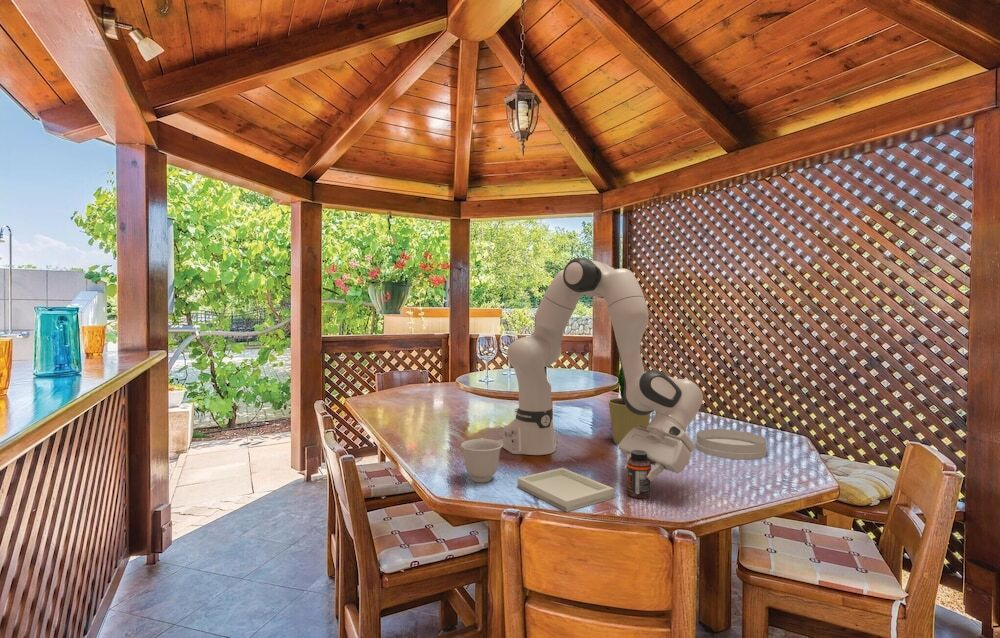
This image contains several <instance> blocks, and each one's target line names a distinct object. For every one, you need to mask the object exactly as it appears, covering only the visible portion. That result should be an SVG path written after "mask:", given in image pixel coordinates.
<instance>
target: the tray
mask: <svg viewBox="0 0 1000 638" xmlns="http://www.w3.org/2000/svg"><path fill="white" fill-rule="evenodd" d="M517 488H518V489H520V490H523V491H524V492H526V493H529V494H530V495H532V496H534V497H536V498H539V499H540V500H542V501H544V502H546V503H548V504H550V505H552V506H554V507H556V508H558V509H559V510H561V511H564V512H566V513H568V512H571V511H575V510H577V509H581V508H585V507H588V506H591V505H592V506H593V505H594V504H599V503H601V502H606V501H609V500H612V499H615V488H614V487H612V486H609V485H606V484H604V483H601V482H599V481H596V480H594V479H592V478H589V477H586V476H585V475H582V474H580V473H576V472H574V471H571V470H570V469H567V468H564V467H559V468H555V469H552V470H546V471H543V472H538V473H533V474H529V475H524V476H520V477H517Z"/></svg>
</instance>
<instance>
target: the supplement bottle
mask: <svg viewBox="0 0 1000 638" xmlns="http://www.w3.org/2000/svg"><path fill="white" fill-rule="evenodd" d="M646 458H647V452H645V451H642V450H633V451H631V458H630V459H629V460H628V461H627V460H626V463H627V471H626V493H627V494H628V496H630V497H631V498H636V499H647V498H649V497H650V496H651V492H652V491H651V487H652V484H651V483H652V481H650V480H648V479H646V478H645V477H644V475H645V474H646V472H647V470H648V471H651V470H652V469H651V467H652V464H651V463H650V461H649V460H647V459H646Z"/></svg>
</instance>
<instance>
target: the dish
mask: <svg viewBox="0 0 1000 638" xmlns="http://www.w3.org/2000/svg"><path fill="white" fill-rule="evenodd" d="M695 449H696V450H697V449H698V450H697V451H699V452H701V453H702V454H705V453H706V454H705V455H708V456H712V457H715V458H723V459H728V460H737V461H738V460H741V461H742V460H743V461H749V460H750V461H751V460H754V461H755V460H760V459H763V458H766V457H767V449H768V448H767V439H766V438H765V437H763V436H761V435H759V434H756V433H753V432H747V431H742V430H738V429H737V430H736V429H725V428H709V429H702V430H699V431H697V433H696V440H695Z"/></svg>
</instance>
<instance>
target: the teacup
mask: <svg viewBox="0 0 1000 638" xmlns="http://www.w3.org/2000/svg"><path fill="white" fill-rule="evenodd" d="M502 446H503V444H502V443H501V442H499V441H498V440H496V439H489V438H484V437H481V438H473V439H468V440H465V441H463V442H461V443H460V447H461V449H462V451H463V452H462V453H463V458H464V459H463V460H464V467H465V470H466V473H467V474H468V475H470V476H471V481H473V482H475V483H488V482H491V480H492V479H493V478H492V476H493V475H494V474H496V472H497V471H498V469H499V462H500V453H501V449H502V448H503V447H502Z"/></svg>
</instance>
